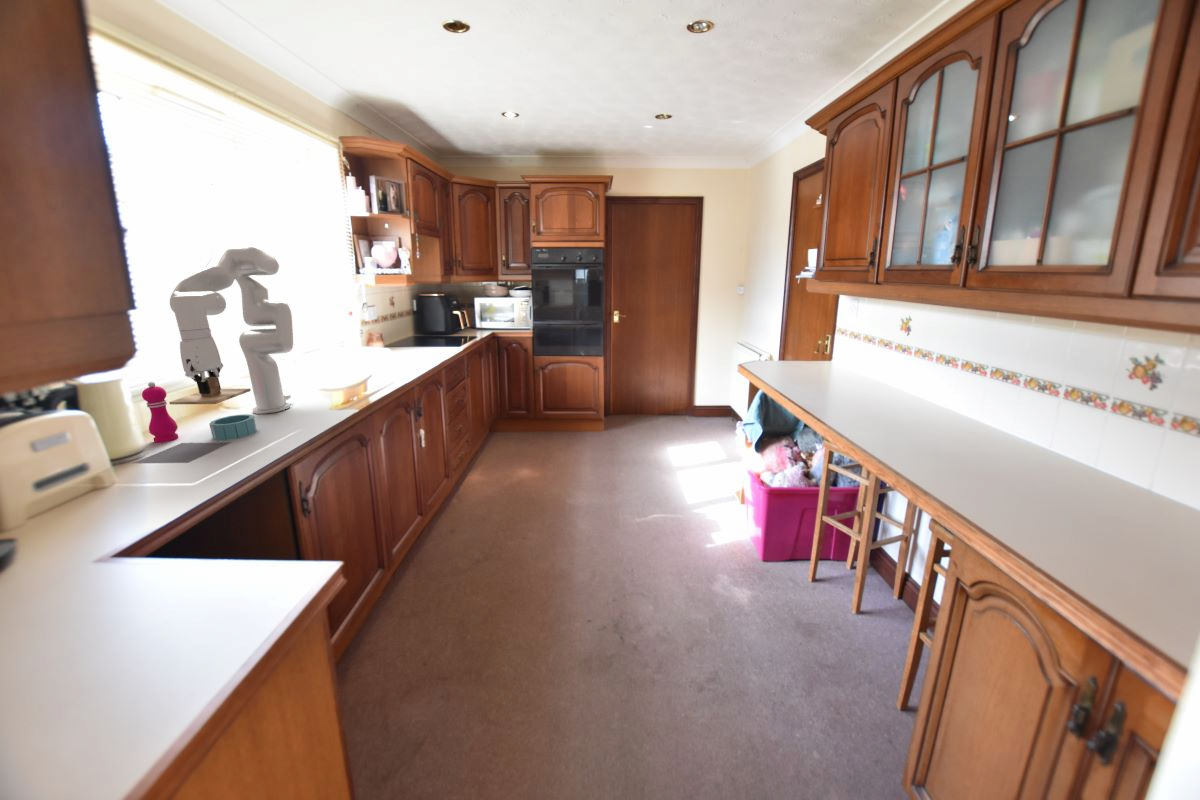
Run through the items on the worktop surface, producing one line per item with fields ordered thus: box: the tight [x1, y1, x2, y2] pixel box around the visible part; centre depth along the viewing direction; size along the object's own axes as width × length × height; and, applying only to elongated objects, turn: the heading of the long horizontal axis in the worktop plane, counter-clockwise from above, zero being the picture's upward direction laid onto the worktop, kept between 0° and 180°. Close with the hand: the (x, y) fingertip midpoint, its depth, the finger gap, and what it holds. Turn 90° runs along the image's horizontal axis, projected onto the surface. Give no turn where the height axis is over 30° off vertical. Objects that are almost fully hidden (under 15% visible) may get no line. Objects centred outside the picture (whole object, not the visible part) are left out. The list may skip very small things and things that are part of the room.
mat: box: [133, 441, 232, 464], centre depth 158 cm, size 17×17×1 cm
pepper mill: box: [141, 381, 179, 444], centre depth 168 cm, size 7×7×20 cm
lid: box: [168, 376, 252, 405], centre depth 165 cm, size 15×15×6 cm
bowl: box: [209, 413, 258, 441], centre depth 174 cm, size 12×12×6 cm
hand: (210, 391), depth 165 cm, fingers closed on lid, 3 cm apart
